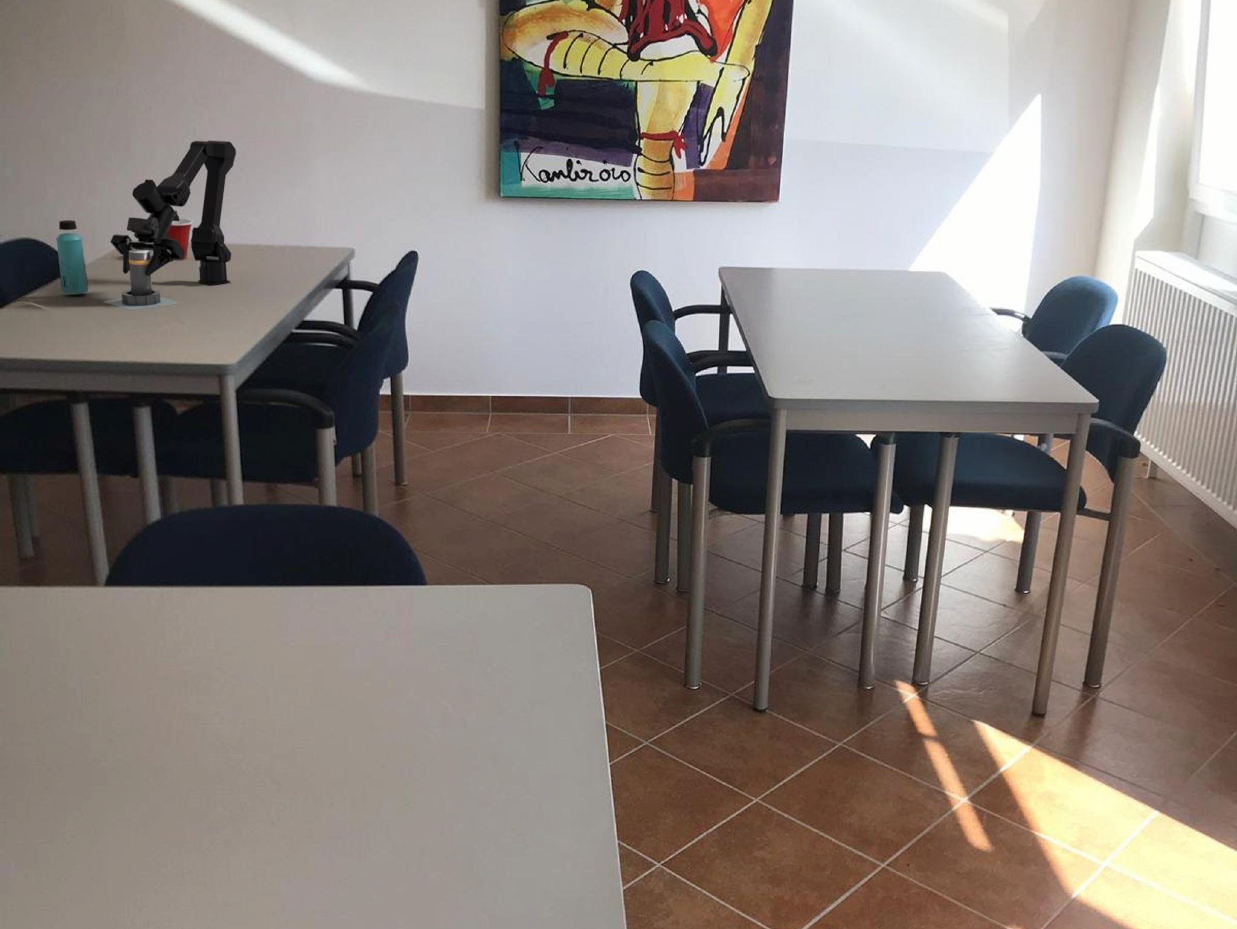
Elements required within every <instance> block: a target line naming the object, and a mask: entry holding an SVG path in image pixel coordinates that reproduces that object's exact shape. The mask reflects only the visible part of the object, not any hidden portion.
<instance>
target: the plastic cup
mask: <svg viewBox="0 0 1237 929" xmlns="http://www.w3.org/2000/svg"><path fill="white" fill-rule="evenodd" d="M193 222H194V220H192V219H189V218H186V217H185V218H184V217H179V221H173V222H172V224H171V226H170V228H169V231H168V233H169V234H170V237H169V238H168V239H176V240H177V241H178V242H179V244H180V245H181V246H182V247H183V249H184V250H185V255H184V258H183V259H182V260H186V259H188V258H187V256H188V248H189V243H190V233H191V232H190V231H191V227H192V225H193ZM173 261H175V260H174V259H173Z"/></svg>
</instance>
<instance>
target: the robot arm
mask: <svg viewBox="0 0 1237 929" xmlns="http://www.w3.org/2000/svg"><path fill="white" fill-rule="evenodd" d="M236 154H237V150H236V148H235V146H234V145H233V143H232V142H231V141H229V140H228V141H225V140H210V139H209V140H206V141H205V140H194V141H192V142H190V145H189V149H188V150H187V153H185V155H184V156H183V158H182V161H180V163H179V165H177V168H176V169H175V171H174V172H173V173H172V175H170V176H168V177H165V178H164V179H163V180H162V181H161V182H160V183H159V184H158V185H156V182H155V181H154V179H145V180H144V182H142V183H139V184H138V185H137V186H136V187H134V188H133V191H132V197H133V198H134V200H135V201H136V202H137V203H138V205H139V206H140V207H141V209H142V210H143V211H144V212H145V213H146V214H149V215H148V217H147V218H142V217H141V218H140V217H129V216H128V220H127V226H126V230H127V231H128V232H132V233H134V234H133V236H134V238H135V239H138V240H133V239H131V237H130V236H129V235H128V234H118V233H117V234H113V235H112V238H111V240H110V243H111V244H112V247H114V248H115V249H116V251H118V253H119V254H120V255H122V273H124V274H125V275H127V274H128V273H129V272H130V265H129V251H130V250H148V251H150V252H152V256H151V257H150V263H149V265H148V268H147V271H146V275H147V276H150V275H151V276H152V275H153V274H154V273H155V272H156V271H158V270H159V269H160V268H163V267H164V266H165V265H167V264H168V263H170V262H171V263H172V262H174V261H183V260H184V259H183V258H184V255H185V250H184V249H183V247H182V246H181V245H180V244H179V242H178V241H177V240H176V239H168V238H169V237H170V234H169V233H168V231H169V228H170V226H171V224H172V222H173V221H179V218H180V216H179V214H178V211H177V210H175V209H174V208H173V207H180V208H182V207H185V205H186V204H187V203H188V201H189V198H190V196H191V185H192V183H193V181H194V180H195V178H196V176H197V175H198V173H199V172H200V170H201V168H202V167H203V165H204V166H205V169H206V180H205V188H204V196H203V205H202V211H201V212H202V213H201V221H200V223H199V225H198V226H197V227H193V228H192V230H191V233H192V234H191V238H190V248H191V252H192V256H193V257H194V260H195V262H198V261H199V267H198V270H199V271H198V272H199V280H198V281H197V282H198V283H201V284H205V285H208V286H214V285H223V284H229V283H231V280H230V279H228V273H227V271H228V270H227V263H228V262H230V261H231V260H232V252H231V251H230V249H229V247H228V246H227V245H226V244H225V234H224V233H223V231H222V229H221V217H222V209H223V202H224V193H225V185H226V176H227V174H228V173H229V172H230V170H231V169H232V168H233V167H234V163H235V158H236ZM173 259H174V260H173Z"/></svg>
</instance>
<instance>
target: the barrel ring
mask: <svg viewBox="0 0 1237 929" xmlns="http://www.w3.org/2000/svg"><path fill="white" fill-rule="evenodd" d="M160 297H161V291H160V290H158V289H152V294H148V295H131V289H130V290H129V289H128V290H125V291H122V292H121V299H122V304H125V305H130V306H146V305H154V304H158V303H160V302H161V300H160Z"/></svg>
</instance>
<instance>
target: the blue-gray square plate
mask: <svg viewBox="0 0 1237 929" xmlns="http://www.w3.org/2000/svg"><path fill="white" fill-rule="evenodd" d="M160 300H161V302H160V303H158V304H154V305H146V306H130V305H125V304H122V298H118V299H111V300H104V301H102V303H105V304H108V305H111V306H114V307H117V308H121V309H125V310H129V311H135V310H141V309H150V308H155V307H163V306H170V305H177V304H181V302H179V301H177V300H176V301H175V300H173V299H168V298H165V297H163V296H160Z"/></svg>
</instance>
